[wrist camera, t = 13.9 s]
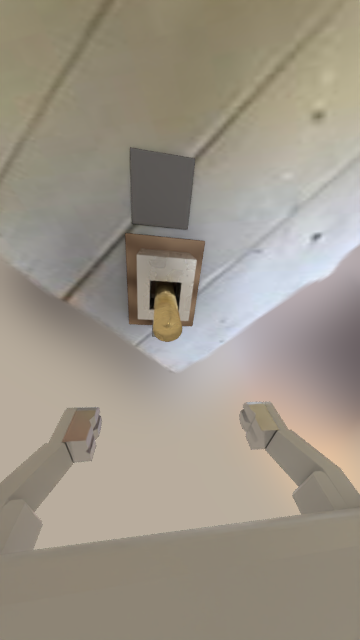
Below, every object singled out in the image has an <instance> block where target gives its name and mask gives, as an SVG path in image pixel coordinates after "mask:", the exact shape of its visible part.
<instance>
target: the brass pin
mask: <svg viewBox="0 0 360 640" xmlns="http://www.w3.org/2000/svg"><path fill="white" fill-rule="evenodd" d="M153 333H154V335H155V336H156V338H158V339H159V340H161V341H165V342H169V341H173V340H175V339H177V338H178V337H179V336H180V335H181V333H182V325H181V320H180V315H179V311H178V306H177V302H176V297H175V293H174V288H173V283H172V282H167V281H156V286H155V304H154V322H153Z"/></svg>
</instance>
